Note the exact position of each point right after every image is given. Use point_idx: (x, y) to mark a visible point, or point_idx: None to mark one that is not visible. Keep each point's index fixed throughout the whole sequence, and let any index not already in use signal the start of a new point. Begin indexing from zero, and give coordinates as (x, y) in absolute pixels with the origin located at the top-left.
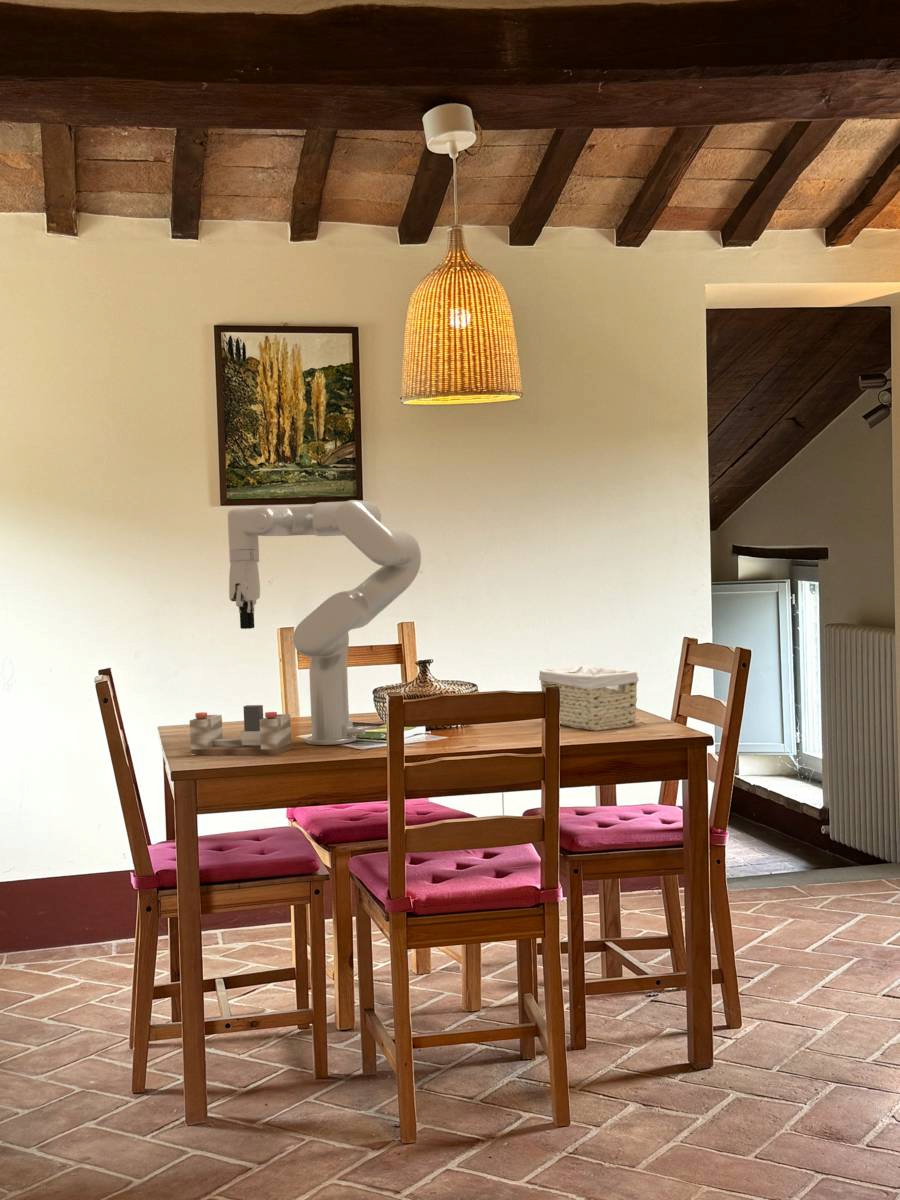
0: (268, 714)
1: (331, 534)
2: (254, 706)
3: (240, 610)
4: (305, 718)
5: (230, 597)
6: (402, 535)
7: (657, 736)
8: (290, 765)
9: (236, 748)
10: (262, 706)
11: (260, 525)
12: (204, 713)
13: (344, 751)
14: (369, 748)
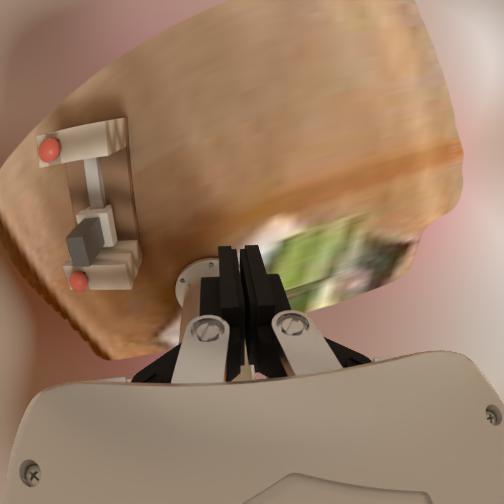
0: (69, 282)
1: None
2: (71, 259)
3: (173, 348)
4: (456, 169)
5: (26, 416)
6: None
7: None
8: (45, 298)
9: (77, 202)
10: (89, 265)
11: None
12: (43, 161)
13: (138, 325)
14: (165, 343)
